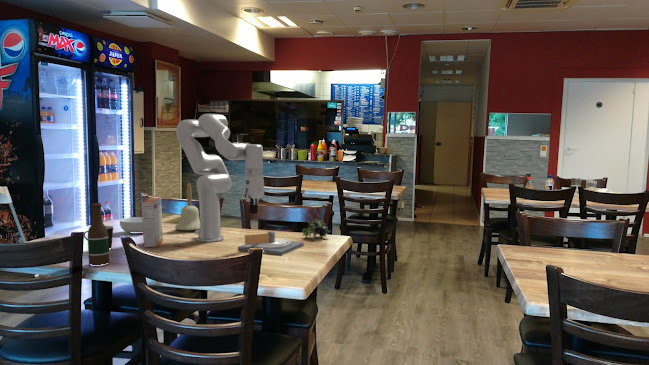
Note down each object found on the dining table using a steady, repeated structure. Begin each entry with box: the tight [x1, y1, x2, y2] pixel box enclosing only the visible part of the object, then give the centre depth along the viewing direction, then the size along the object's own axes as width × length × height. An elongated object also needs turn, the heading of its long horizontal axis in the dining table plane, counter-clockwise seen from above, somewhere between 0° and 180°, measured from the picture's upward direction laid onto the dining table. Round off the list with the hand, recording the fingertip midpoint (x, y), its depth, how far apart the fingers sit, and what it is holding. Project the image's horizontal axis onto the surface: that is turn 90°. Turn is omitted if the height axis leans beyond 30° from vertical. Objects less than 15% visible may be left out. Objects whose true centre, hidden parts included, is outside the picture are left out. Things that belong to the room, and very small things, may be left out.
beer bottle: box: [87, 202, 110, 265], centre depth 193 cm, size 8×8×24 cm
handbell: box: [174, 183, 200, 231], centre depth 263 cm, size 15×15×25 cm
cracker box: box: [141, 197, 164, 248], centre depth 229 cm, size 14×6×21 cm, turn 6°
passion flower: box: [301, 219, 332, 240], centre depth 243 cm, size 11×11×12 cm
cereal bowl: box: [119, 216, 143, 233], centre depth 257 cm, size 17×17×7 cm
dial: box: [244, 230, 287, 247], centre depth 221 cm, size 19×14×5 cm
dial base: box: [237, 239, 305, 256], centre depth 222 cm, size 22×20×2 cm
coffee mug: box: [83, 225, 114, 248], centre depth 218 cm, size 12×9×10 cm
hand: (253, 213), depth 222 cm, fingers closed
